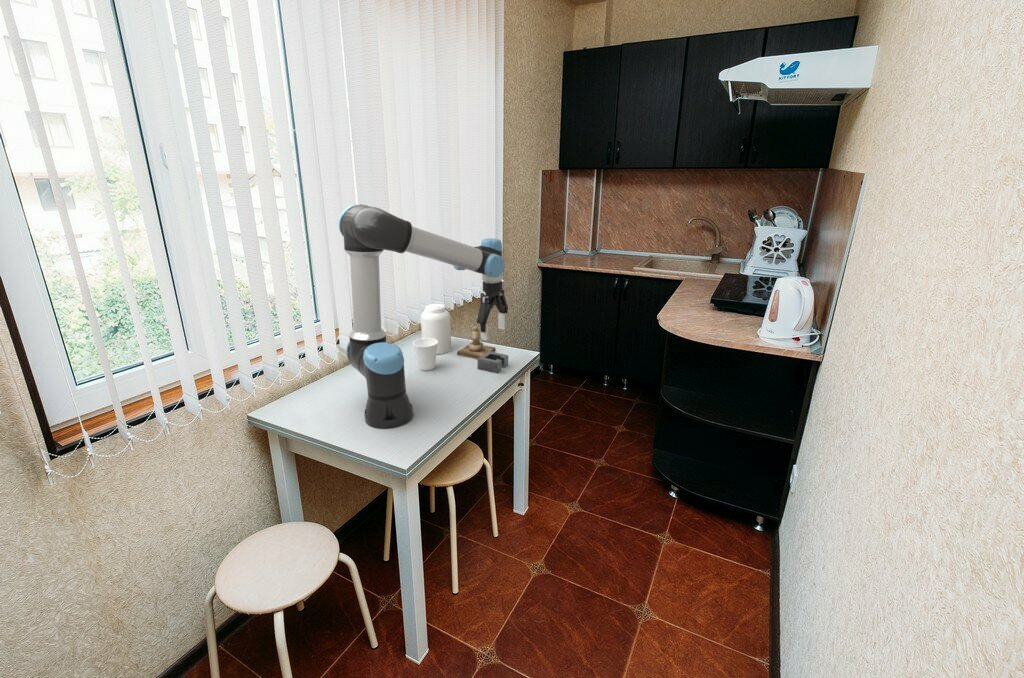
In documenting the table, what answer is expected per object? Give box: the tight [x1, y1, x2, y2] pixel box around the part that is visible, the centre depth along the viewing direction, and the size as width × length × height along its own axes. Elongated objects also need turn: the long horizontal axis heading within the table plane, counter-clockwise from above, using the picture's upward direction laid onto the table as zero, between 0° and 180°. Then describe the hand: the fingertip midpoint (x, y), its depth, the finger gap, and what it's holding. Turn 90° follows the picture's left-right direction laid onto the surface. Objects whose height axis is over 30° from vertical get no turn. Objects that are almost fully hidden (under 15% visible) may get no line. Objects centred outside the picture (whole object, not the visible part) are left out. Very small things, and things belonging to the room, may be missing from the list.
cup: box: [412, 337, 438, 371], centre depth 187 cm, size 10×10×11 cm
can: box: [420, 303, 452, 355], centre depth 204 cm, size 12×12×20 cm
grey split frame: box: [477, 351, 509, 374], centre depth 189 cm, size 9×9×4 cm
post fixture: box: [456, 325, 496, 360], centre depth 202 cm, size 12×12×12 cm
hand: (493, 334), depth 185 cm, fingers open, 13 cm apart
